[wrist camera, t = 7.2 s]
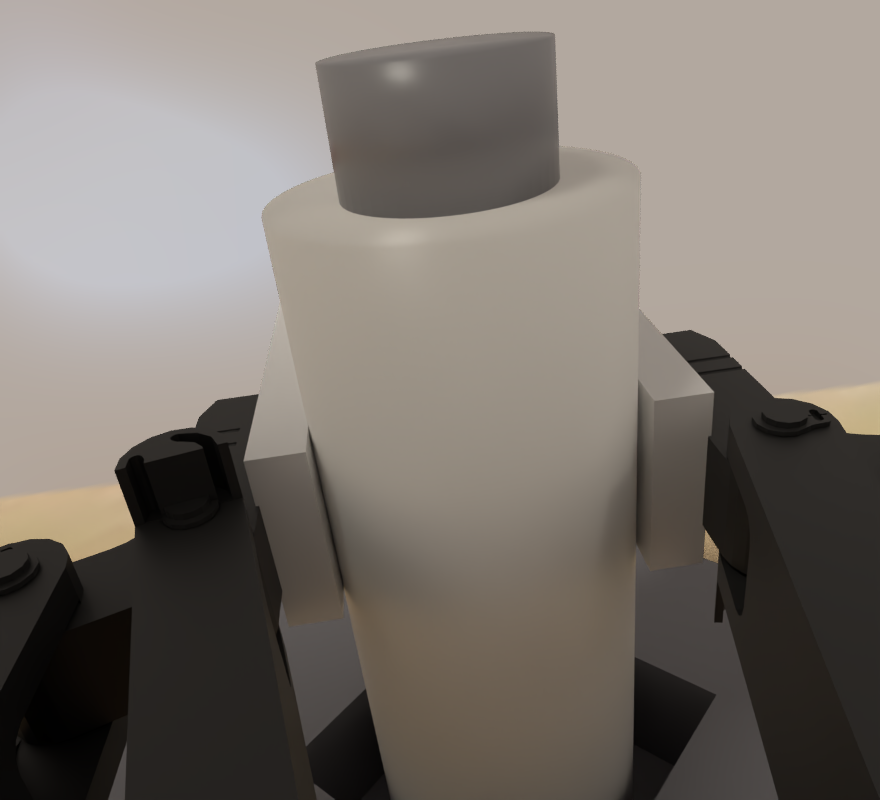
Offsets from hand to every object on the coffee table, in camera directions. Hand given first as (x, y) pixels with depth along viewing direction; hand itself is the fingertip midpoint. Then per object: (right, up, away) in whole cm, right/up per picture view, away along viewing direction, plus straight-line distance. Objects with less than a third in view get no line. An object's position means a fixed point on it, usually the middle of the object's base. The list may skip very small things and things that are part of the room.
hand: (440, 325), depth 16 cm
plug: (+1, -9, -1) cm, 10 cm away
